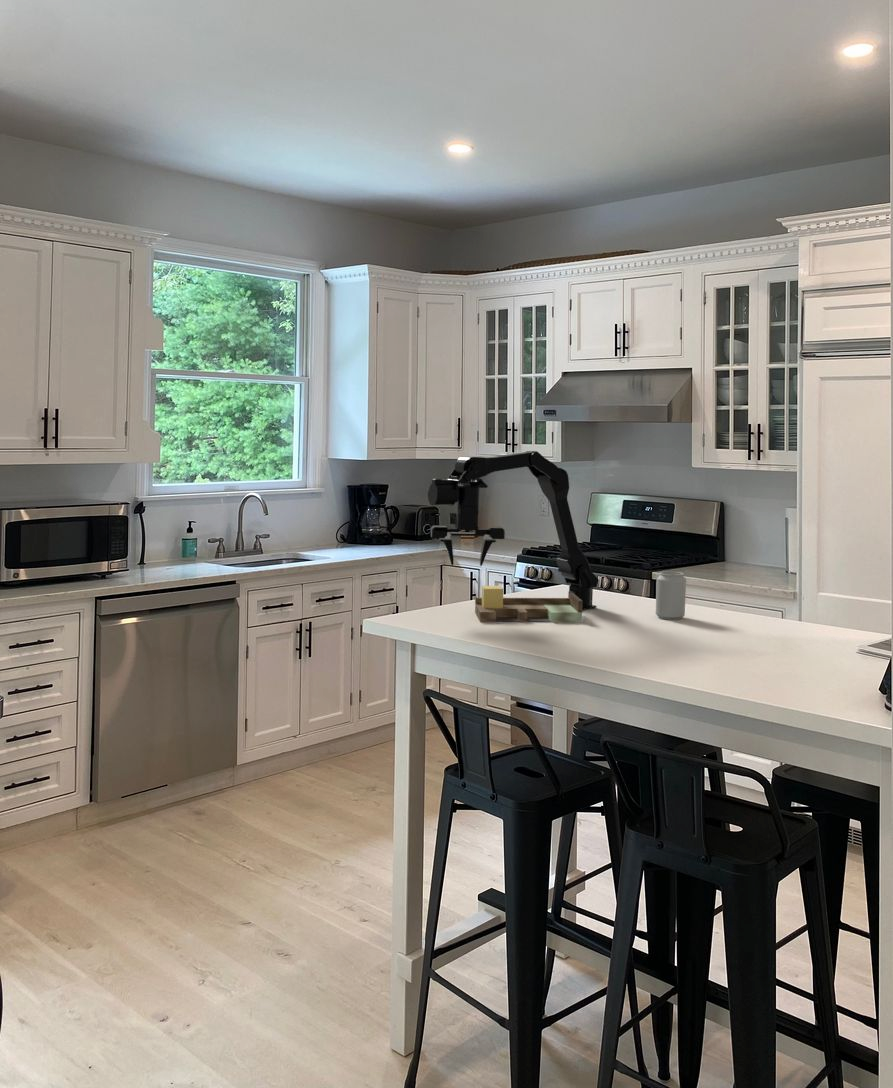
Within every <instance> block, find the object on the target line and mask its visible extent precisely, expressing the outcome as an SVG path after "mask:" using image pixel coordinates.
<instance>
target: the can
mask: <svg viewBox="0 0 893 1088" xmlns="http://www.w3.org/2000/svg"><path fill="white" fill-rule="evenodd" d="M684 575H685V574H684V573H683V572H680V571H660V572H659V576H658V577H657V578H656V590H655V591H656V592H655V593H656V596H655V615H656V616H657V618H658V619H661V620H668V621H669V620H670V621H677V620H681V619H682V618H683V617H685V615H686V596H687V595H686V592H687V578H685V576H684Z"/></svg>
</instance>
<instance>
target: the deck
mask: <svg viewBox="0 0 893 1088" xmlns="http://www.w3.org/2000/svg"><path fill="white" fill-rule="evenodd" d="M582 603H583V601H582V600H581V599H580V598H579V597H577V596H576V595H575V594H574V593H569V598H568V597H503V608H483V606H482V597H475V599H474V613H475V615H476V617H477V619H478V622H480V623H583V610H582Z"/></svg>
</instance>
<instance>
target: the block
mask: <svg viewBox="0 0 893 1088" xmlns="http://www.w3.org/2000/svg"><path fill="white" fill-rule="evenodd" d="M481 598H482V606H483V608H503V598H504V588H503V586H502V585H482V586H481Z"/></svg>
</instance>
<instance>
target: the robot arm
mask: <svg viewBox="0 0 893 1088" xmlns="http://www.w3.org/2000/svg"><path fill="white" fill-rule="evenodd" d="M521 468H527V469H528V470H529V472H530V473H531V475H532V476H534V477H535V478H536V479H537V482H538V485H539V487H540V489H541V491H542V493H543V494H544V496H545V498H546V499H547V501H548V502H549V505H550V509H551V512H552V517H553V520H554V521H553V522H554V525H555V528H556V532H557V533H556V534H557V538H558V541H559V545H560V550H561V551H560V556H559V557H556V558H555V560H556V563H557V567H558V569H557V571H558V572H559V573H561V576H562V577H564V581H565V584H566V585H567V584H569V586H568V587H569V589H568V591H567V592H568V595H567V596H568V597H567V598H569V593H574V594H575V595H576V596H577V597H579V598H580V599H581V600H582V601H583V603H582V611H583V610H589V609H594V608H595V609H596V608H597V605H593V593H594V592H593V591H594V588H596V587H598V584H599V578H598V577H597V576H596V575H595V574H594V572H592V570H591V565H590V563H589V561H588V559H587V557H586V554H584V552H583V551H582V549H581V548H580V547H579V542H578V538H577V533H576V529H575V526H574V521H573V516H572V513H571V510H570V504H569V501H568V496H569V490H570V480H569V478H570V477H569V474H568V472H567V470H566V469H564V468H562V467H559V466H557V465H556V464H555V463H553V462H552V461H550V460H549V459H547V458H546V457H544V456H543V455H542V454H541V453H540V452H538V451H537V450H536V451H535V450H525V451H524V452H523V451H522V452H517V453H516V452H515V453H510V454H503V455H497V456H490V457H483V456H467V455H466V456H464V455H463V456H460V457H458V458H457V460H456V462H455V464H454V468H453V469H452V471H451V472H450V473H449V475H447V478H446V479H440V478H432V479H431V484H430V486H429V489H428V491H427V499H428V502H429V504H430V506H433V507H434V506H435V507H437V506H440V507H441V506H443V507H444V506H445V507H446V506H450V507H452V506H454V505H455V504H456V512H449V515H448V526H449V527H454V528H448V527H447V525H432V526H431V527H430V537H431V538H432V539H438V540H439V542H442V543H443V544H444V546H445V548H446V550H447V555H448V558H449V561H450V565H451V566H454V551H453V549H454V548H453V541H452V539H451V537H453V536H456V537H457V536H458V537H460V536H461V537H462V536H463V537H467V536H468V537H482V538H481V539H482V541H481V549H480V551H481V552H480V558H479V567H482V566H483V565H484V562H485V558H486V556H487V554H488V551H489V550H490V547H491V545H492V544H493V543H497V540H505V539H506V538H505V537H506V535H505V529H504V528H503V527H502V526H490V525H488V526H487V528H479V527H480V522H479V521H480V495H481V494H480V492H481V491H480V490H481V489H487V488H488V485H487V483H486V482H485V481H483V479H482V478H484V477H486V476H488V475H490V474H492V473H495V472H500V471H507V470H514V469H521ZM459 484H460V485H459Z"/></svg>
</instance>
